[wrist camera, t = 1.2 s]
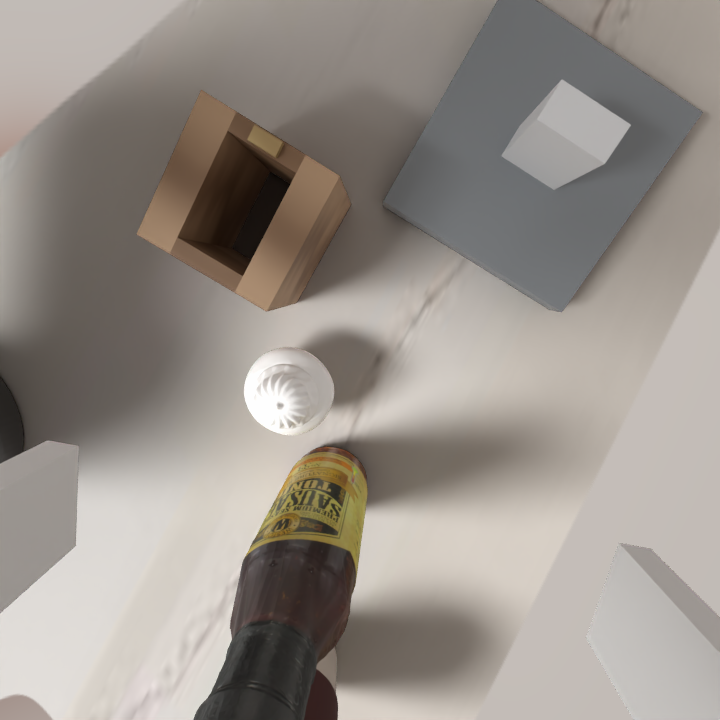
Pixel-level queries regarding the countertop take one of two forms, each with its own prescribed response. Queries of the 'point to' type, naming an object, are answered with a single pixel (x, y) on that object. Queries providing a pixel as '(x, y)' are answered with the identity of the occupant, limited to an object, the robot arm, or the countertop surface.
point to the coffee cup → (324, 690)
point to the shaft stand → (538, 152)
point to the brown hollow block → (243, 206)
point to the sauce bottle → (293, 591)
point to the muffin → (289, 391)
